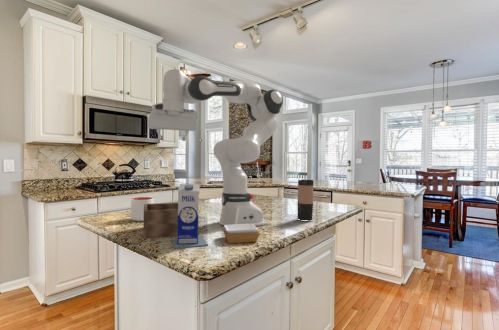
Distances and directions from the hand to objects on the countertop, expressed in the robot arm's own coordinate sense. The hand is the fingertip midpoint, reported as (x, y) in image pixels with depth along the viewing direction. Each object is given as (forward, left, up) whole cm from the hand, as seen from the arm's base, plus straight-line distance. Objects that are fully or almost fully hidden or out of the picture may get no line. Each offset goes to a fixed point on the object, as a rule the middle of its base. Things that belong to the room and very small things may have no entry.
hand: (172, 140), depth 121 cm
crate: (+3, +8, -37) cm, 38 cm away
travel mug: (-64, +4, -37) cm, 74 cm away
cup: (+12, -17, -37) cm, 43 cm away
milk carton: (-4, +26, -37) cm, 45 cm away
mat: (-4, +26, -37) cm, 45 cm away
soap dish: (-23, +27, -38) cm, 52 cm away
